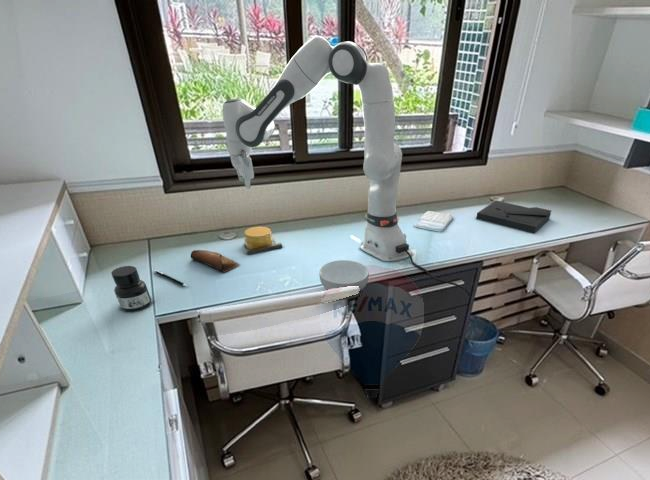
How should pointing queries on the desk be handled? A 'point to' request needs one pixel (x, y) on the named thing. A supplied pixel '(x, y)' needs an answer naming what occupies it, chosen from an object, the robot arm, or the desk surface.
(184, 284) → the pen
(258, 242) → the glazed bowl
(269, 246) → the strip
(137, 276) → the ink bottle
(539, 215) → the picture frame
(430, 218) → the white folded towel
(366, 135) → the robot arm
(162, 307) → the desk surface
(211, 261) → the sunglasses case
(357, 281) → the cereal bowl
